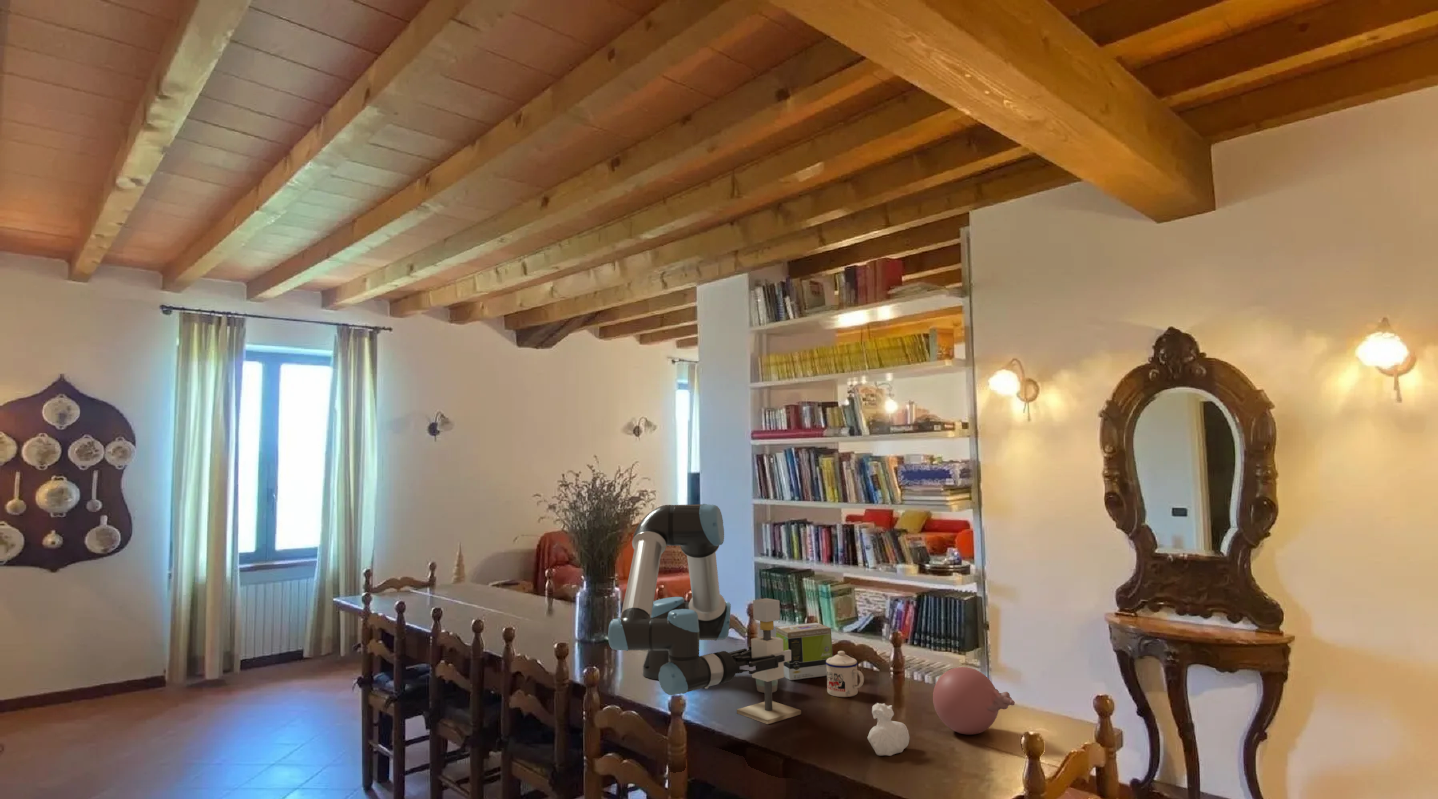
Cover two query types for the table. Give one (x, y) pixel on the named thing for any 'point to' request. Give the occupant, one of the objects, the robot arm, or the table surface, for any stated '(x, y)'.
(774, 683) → the coffee cup
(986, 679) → the balloon
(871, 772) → the table surface
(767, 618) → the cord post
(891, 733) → the bust
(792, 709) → the tan slab base
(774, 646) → the marker sleeve
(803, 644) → the tea box
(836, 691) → the teacup with lid
